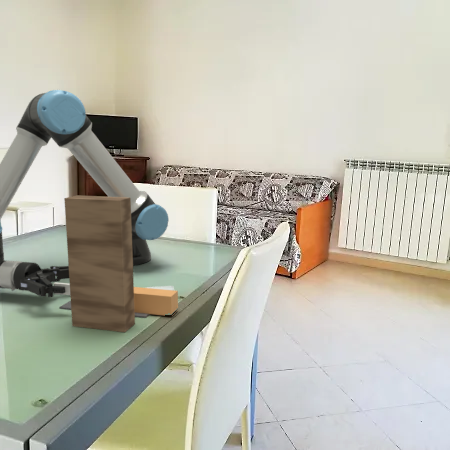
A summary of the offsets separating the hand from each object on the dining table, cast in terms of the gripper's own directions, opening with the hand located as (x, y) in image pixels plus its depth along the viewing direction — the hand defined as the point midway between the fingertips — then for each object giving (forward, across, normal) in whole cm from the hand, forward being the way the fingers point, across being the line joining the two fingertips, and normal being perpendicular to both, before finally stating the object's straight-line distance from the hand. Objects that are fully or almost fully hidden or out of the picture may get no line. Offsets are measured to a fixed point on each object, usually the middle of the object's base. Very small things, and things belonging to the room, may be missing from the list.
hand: (92, 281), depth 120 cm
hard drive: (+14, -11, -7) cm, 19 cm away
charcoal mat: (+4, 0, -7) cm, 8 cm away
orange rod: (+11, 0, -6) cm, 13 cm away
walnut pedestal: (+8, +10, -7) cm, 15 cm away
